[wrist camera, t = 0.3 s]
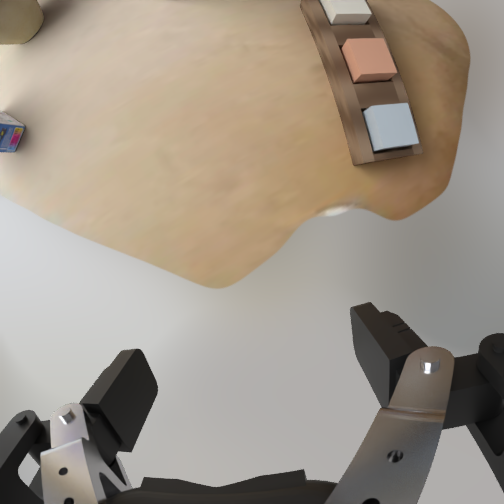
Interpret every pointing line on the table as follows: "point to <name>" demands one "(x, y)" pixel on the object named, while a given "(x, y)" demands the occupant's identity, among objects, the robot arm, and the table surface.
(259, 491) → the robot arm
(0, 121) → the ink cartridge box
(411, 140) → the bluegrey button
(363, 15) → the cream button
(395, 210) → the table surface
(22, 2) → the plant pot
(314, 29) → the button panel
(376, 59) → the pink square block
